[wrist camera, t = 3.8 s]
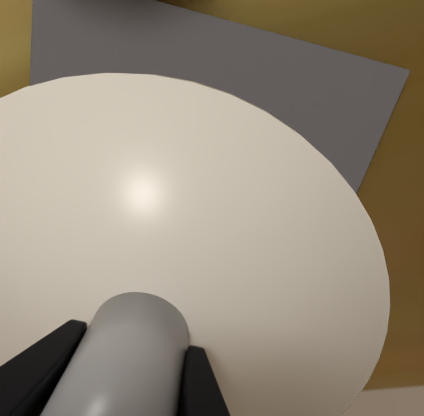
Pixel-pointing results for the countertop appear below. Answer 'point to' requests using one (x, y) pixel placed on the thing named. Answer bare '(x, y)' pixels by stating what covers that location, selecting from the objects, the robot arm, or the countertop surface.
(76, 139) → the lid
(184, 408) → the robot arm
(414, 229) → the countertop surface
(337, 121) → the mat
